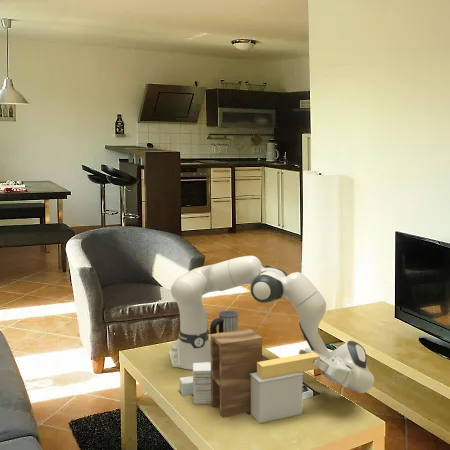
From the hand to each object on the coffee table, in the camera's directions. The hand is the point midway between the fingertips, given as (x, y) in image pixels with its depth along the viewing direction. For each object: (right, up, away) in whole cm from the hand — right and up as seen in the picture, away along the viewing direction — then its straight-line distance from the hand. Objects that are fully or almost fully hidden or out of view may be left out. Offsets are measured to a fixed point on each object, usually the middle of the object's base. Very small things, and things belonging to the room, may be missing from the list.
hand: (307, 356), depth 203 cm
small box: (-42, -17, +16) cm, 48 cm away
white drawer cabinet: (-36, -18, +10) cm, 41 cm away
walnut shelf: (-24, -18, +4) cm, 31 cm away
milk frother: (-25, -9, +58) cm, 64 cm away
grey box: (-11, -19, -1) cm, 22 cm away
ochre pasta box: (-7, -5, -2) cm, 8 cm away
